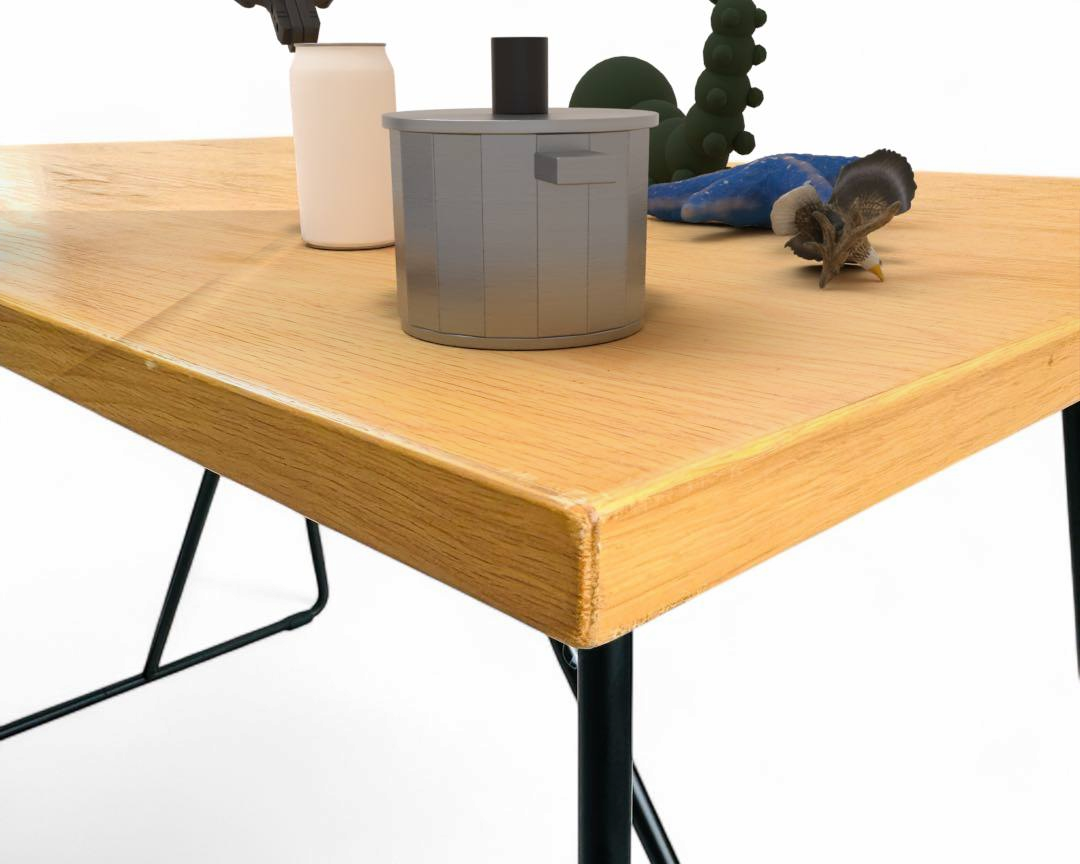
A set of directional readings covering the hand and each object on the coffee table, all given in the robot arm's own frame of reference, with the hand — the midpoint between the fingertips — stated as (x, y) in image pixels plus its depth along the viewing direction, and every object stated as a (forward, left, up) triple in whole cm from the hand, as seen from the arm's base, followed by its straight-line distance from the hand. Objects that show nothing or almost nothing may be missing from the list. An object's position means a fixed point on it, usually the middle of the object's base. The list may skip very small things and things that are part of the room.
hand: (303, 43), depth 82 cm
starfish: (+31, -1, -12) cm, 33 cm away
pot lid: (+16, -34, -4) cm, 37 cm away
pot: (+16, -34, -12) cm, 39 cm away
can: (+4, -9, -12) cm, 16 cm away
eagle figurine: (+33, -22, -12) cm, 41 cm away
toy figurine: (+25, +18, -12) cm, 33 cm away
